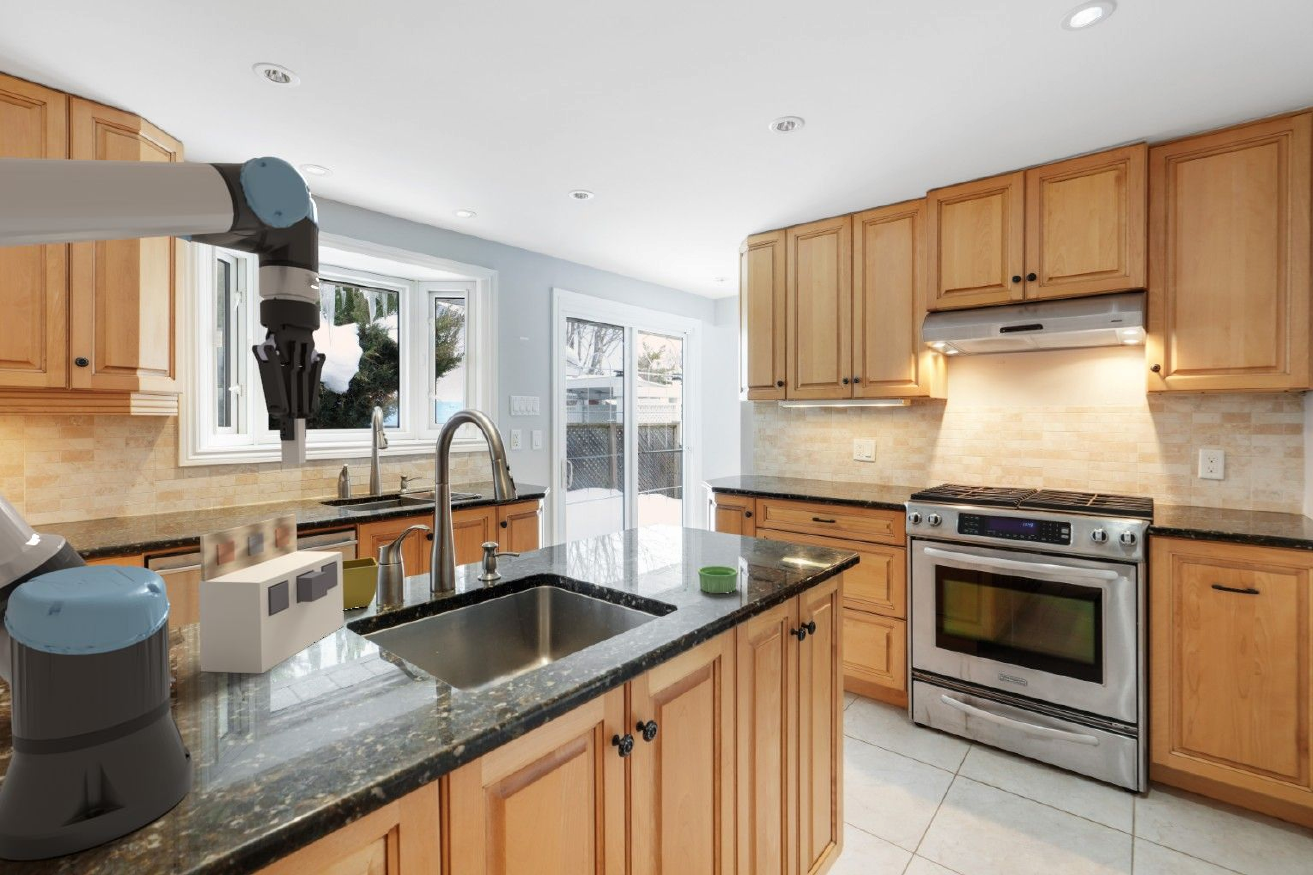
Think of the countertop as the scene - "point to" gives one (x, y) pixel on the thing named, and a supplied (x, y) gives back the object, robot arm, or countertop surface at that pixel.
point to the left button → (278, 597)
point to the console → (265, 614)
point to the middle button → (311, 586)
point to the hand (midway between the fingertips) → (293, 462)
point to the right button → (330, 574)
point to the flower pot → (359, 582)
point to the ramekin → (717, 579)
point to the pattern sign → (247, 546)
